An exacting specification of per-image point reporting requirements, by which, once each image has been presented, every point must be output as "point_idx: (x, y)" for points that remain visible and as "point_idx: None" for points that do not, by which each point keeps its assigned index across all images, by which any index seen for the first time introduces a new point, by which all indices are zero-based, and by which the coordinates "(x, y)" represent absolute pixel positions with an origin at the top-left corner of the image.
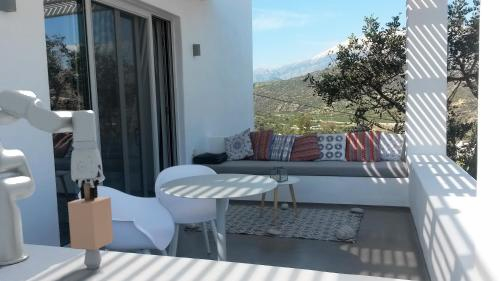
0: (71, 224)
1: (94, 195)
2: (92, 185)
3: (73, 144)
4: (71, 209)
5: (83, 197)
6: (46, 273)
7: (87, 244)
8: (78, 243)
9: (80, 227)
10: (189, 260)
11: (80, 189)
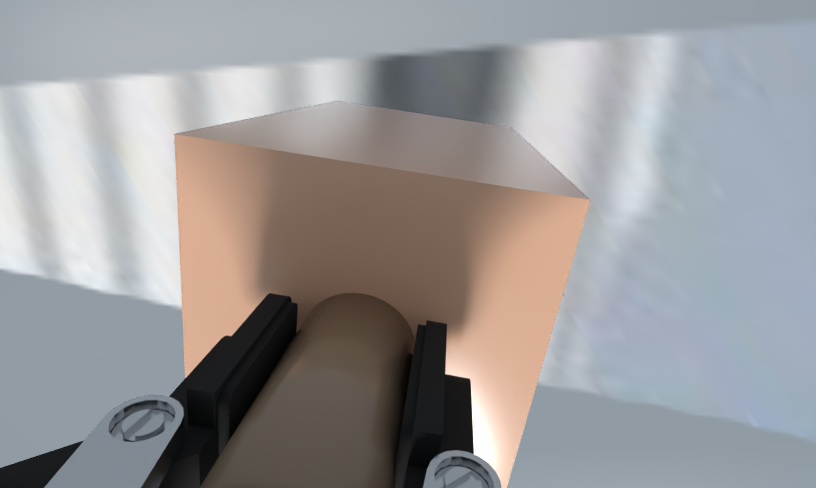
0: (513, 145)
1: (227, 336)
2: (133, 435)
3: None
4: (518, 169)
5: (415, 340)
6: (626, 78)
7: (386, 111)
8: (455, 122)
9: (423, 130)
10: (66, 262)
11: (440, 412)
